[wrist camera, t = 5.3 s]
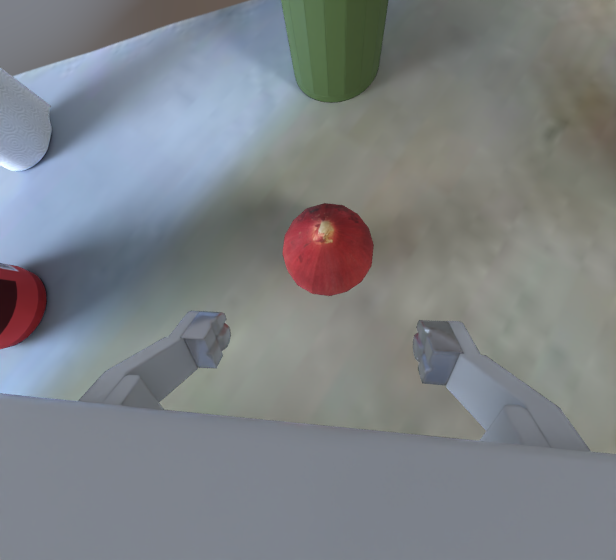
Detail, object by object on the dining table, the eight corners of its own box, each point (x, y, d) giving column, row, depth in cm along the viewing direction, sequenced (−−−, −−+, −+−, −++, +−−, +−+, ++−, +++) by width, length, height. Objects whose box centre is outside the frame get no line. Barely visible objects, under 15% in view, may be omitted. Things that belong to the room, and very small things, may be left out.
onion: (287, 240, 21) (255, 188, 13) (355, 221, 20) (364, 156, 12) (303, 308, 19) (278, 297, 12) (376, 290, 19) (400, 265, 11)
